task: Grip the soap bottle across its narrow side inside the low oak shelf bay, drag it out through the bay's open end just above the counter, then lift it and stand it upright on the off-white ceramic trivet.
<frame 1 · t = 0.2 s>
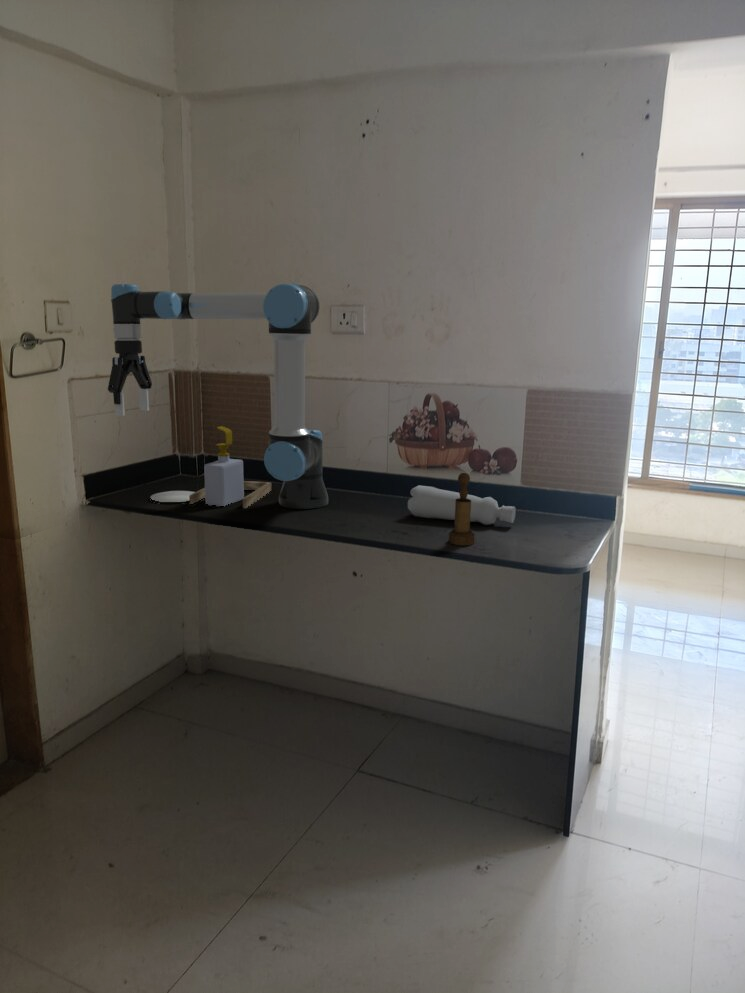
hand: (132, 413, 225), 28 cm above the worktop, fingers open, 13 cm apart
soap bottle: (225, 502, 236), on the worktop
shelf bay: (230, 499, 240), on the worktop
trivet: (175, 498, 240), on the worktop
bottle: (460, 522, 217), on the worktop
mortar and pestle: (461, 542, 196), on the worktop
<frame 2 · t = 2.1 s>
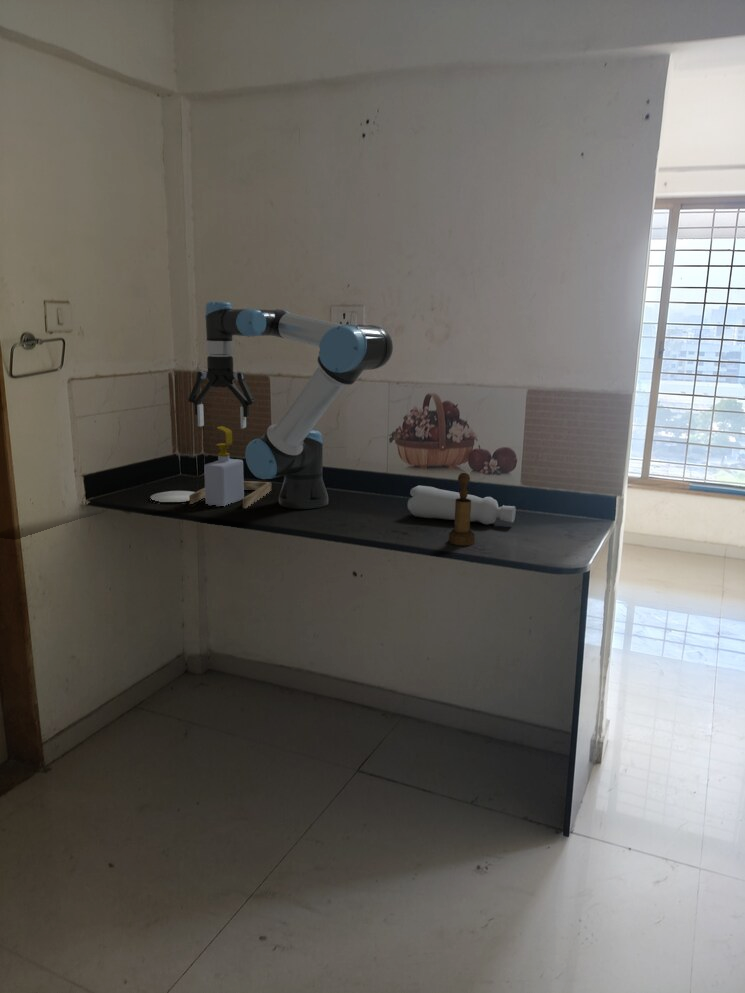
hand: (222, 427, 231), 23 cm above the worktop, fingers open, 13 cm apart
nothing on the worktop moved.
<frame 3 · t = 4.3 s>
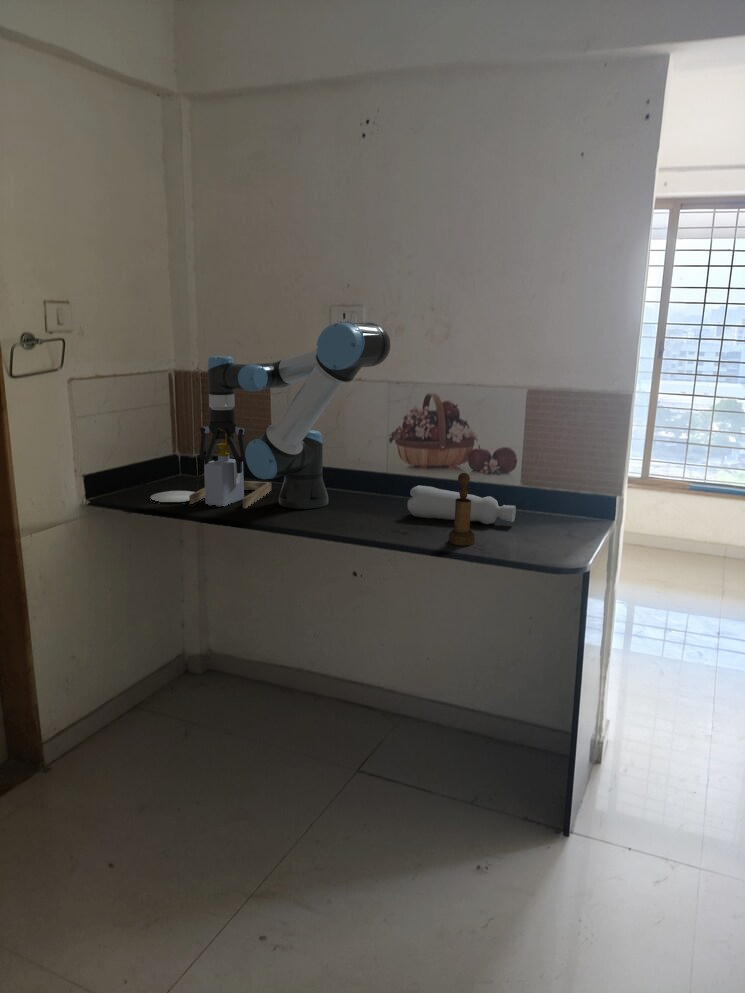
hand: (224, 482, 234), 6 cm above the worktop, fingers closed on soap bottle, 7 cm apart
soap bottle: (225, 502, 236), on the worktop, touching gripper
everything else where it was.
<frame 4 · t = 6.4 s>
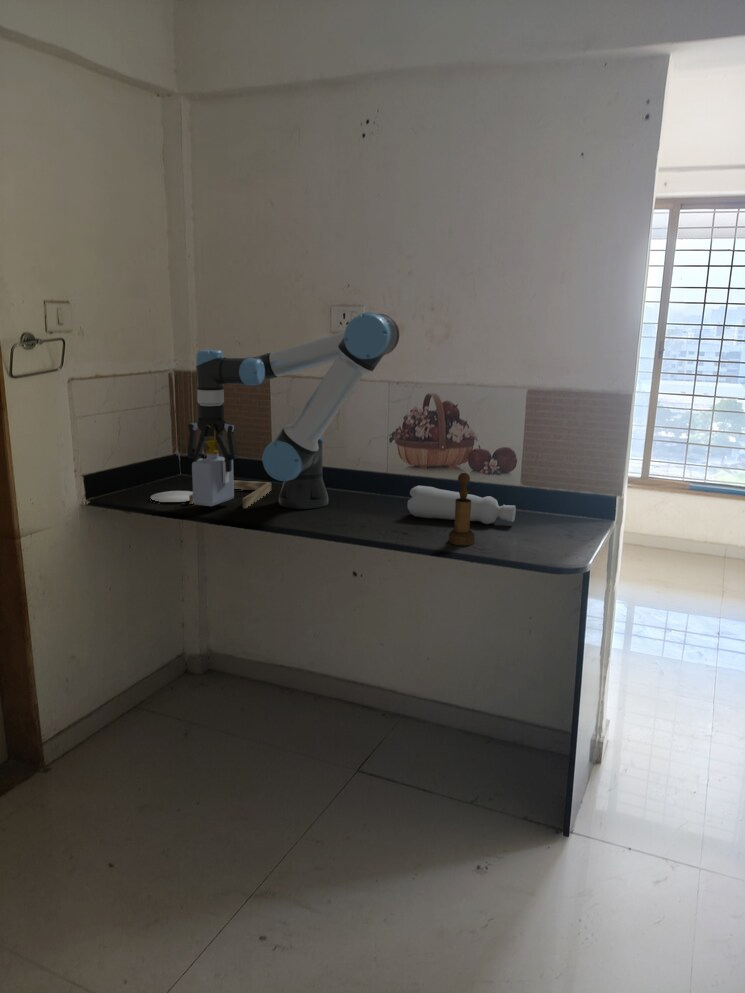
hand: (213, 481, 226), 8 cm above the worktop, fingers closed on soap bottle, 7 cm apart
soap bottle: (214, 502, 228), point 2 cm above the worktop, touching gripper
everything else where it was.
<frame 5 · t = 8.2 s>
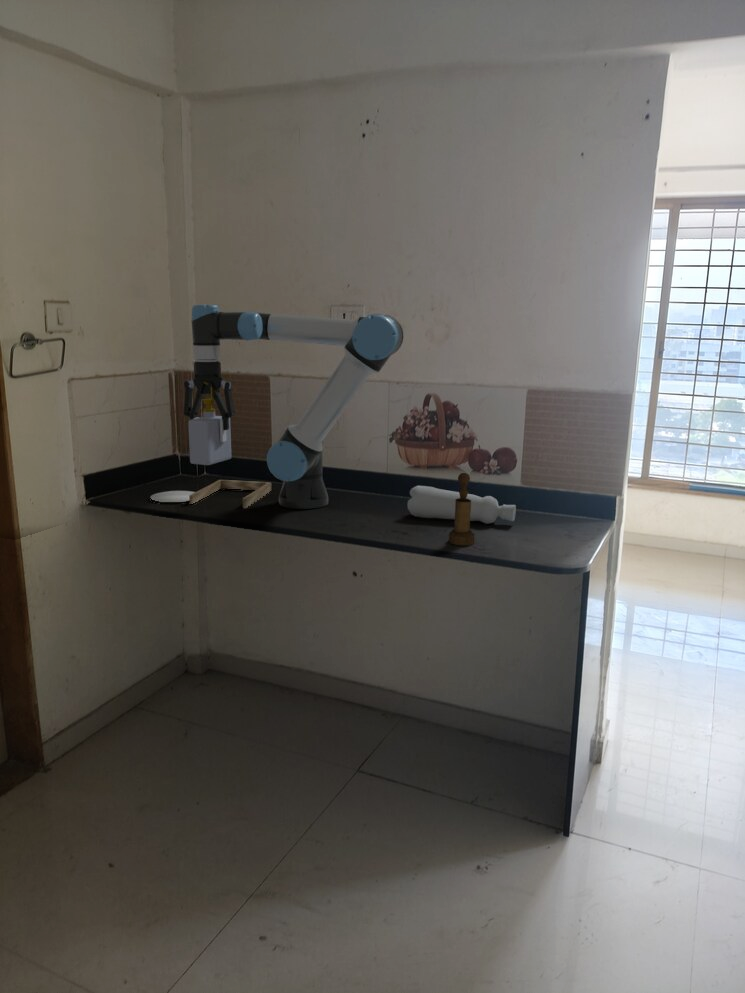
hand: (210, 440, 222), 21 cm above the worktop, fingers closed on soap bottle, 7 cm apart
soap bottle: (211, 462, 223), point 14 cm above the worktop, touching gripper
everything else where it was.
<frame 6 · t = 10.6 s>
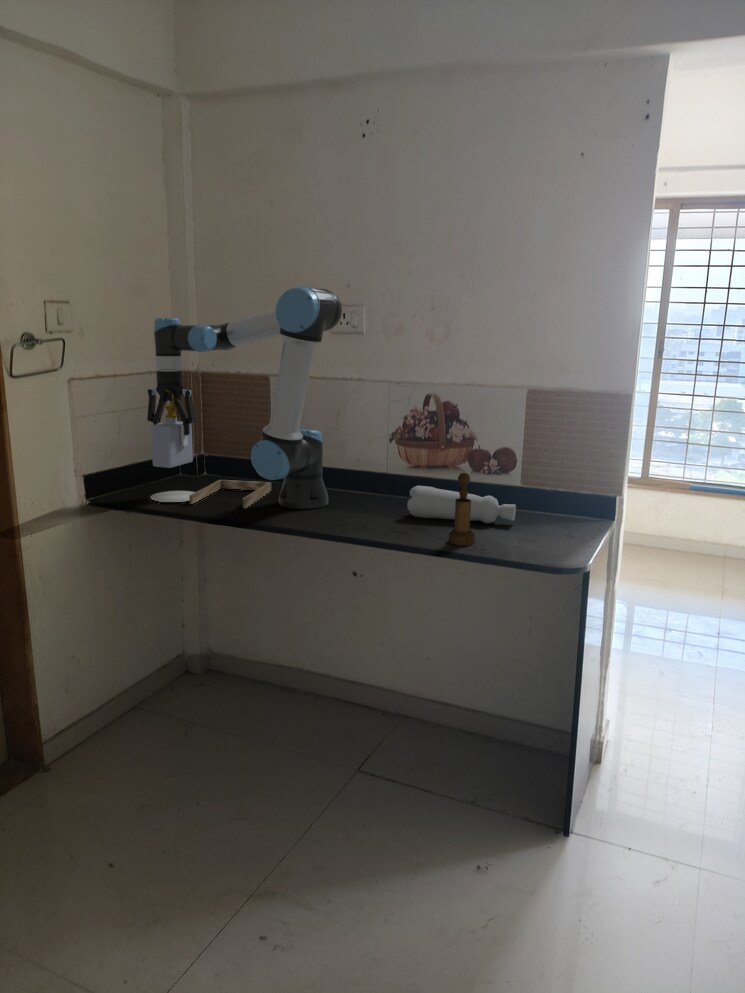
hand: (172, 444, 236), 17 cm above the worktop, fingers closed on soap bottle, 7 cm apart
soap bottle: (173, 465, 238), point 11 cm above the worktop, touching gripper
when the fingers open (8 cm above the worktop, at t = 12.5 s): soap bottle drops 1 cm, resting on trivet.
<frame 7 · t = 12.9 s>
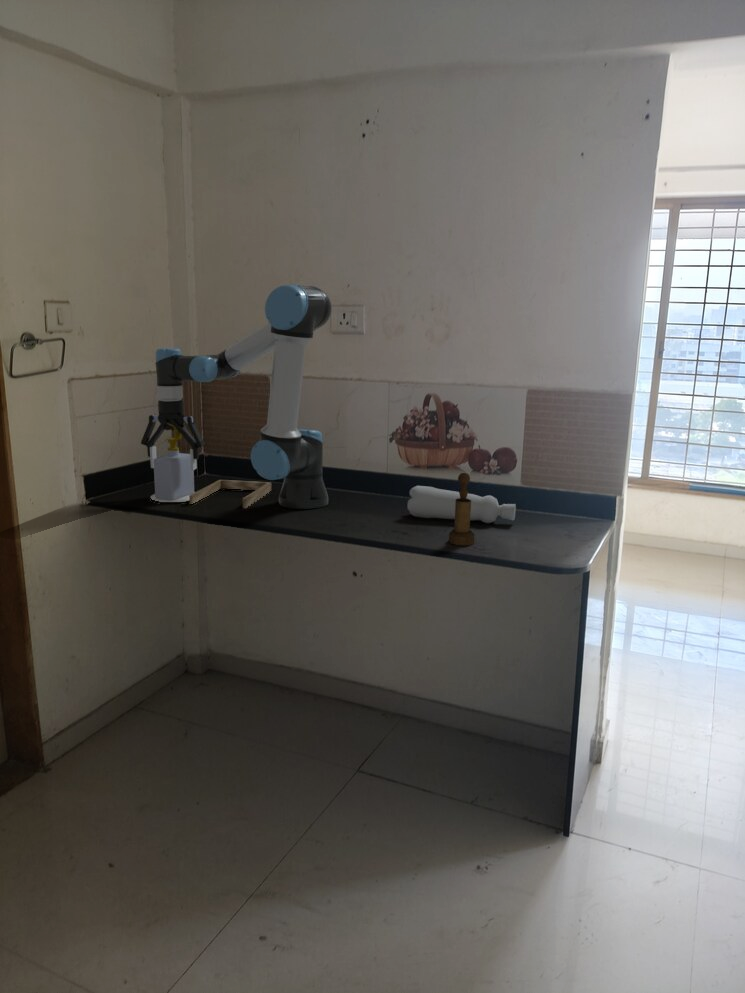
hand: (173, 468, 238), 10 cm above the worktop, fingers open, 13 cm apart
soap bottle: (175, 496, 240), point 1 cm above the worktop, touching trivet
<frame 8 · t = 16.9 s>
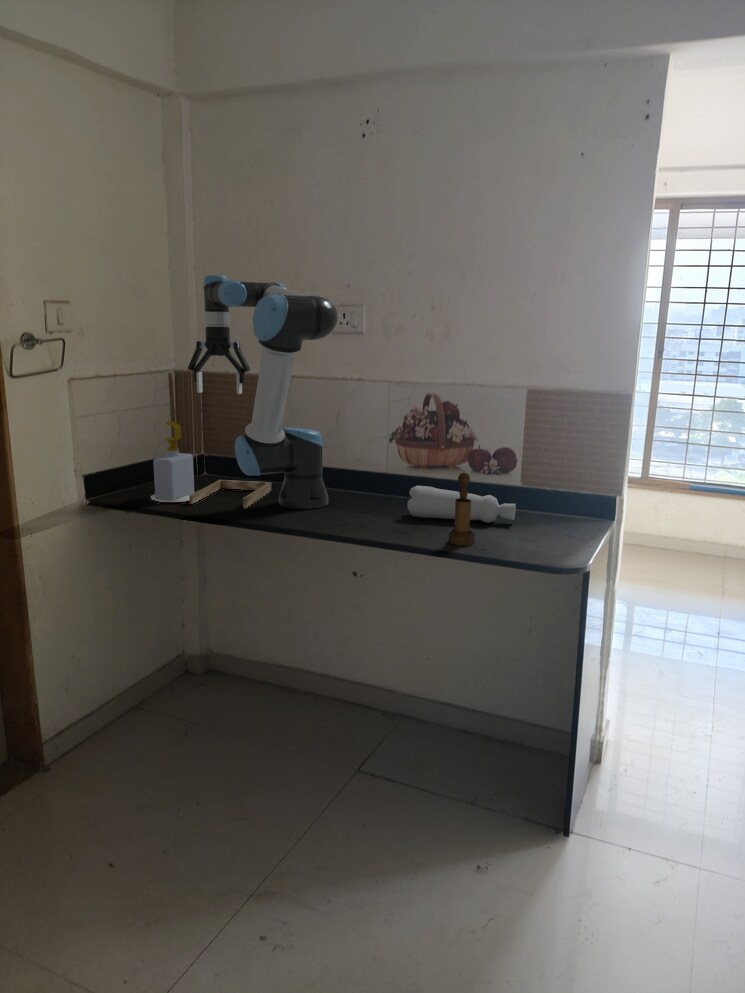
hand: (219, 393, 247), 32 cm above the worktop, fingers open, 13 cm apart
at the end: soap bottle inside the target area on the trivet (0.1 cm from its centre), point 0.6 cm above the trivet's base; soap bottle tilted 0°; the gripper is holding nothing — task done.
